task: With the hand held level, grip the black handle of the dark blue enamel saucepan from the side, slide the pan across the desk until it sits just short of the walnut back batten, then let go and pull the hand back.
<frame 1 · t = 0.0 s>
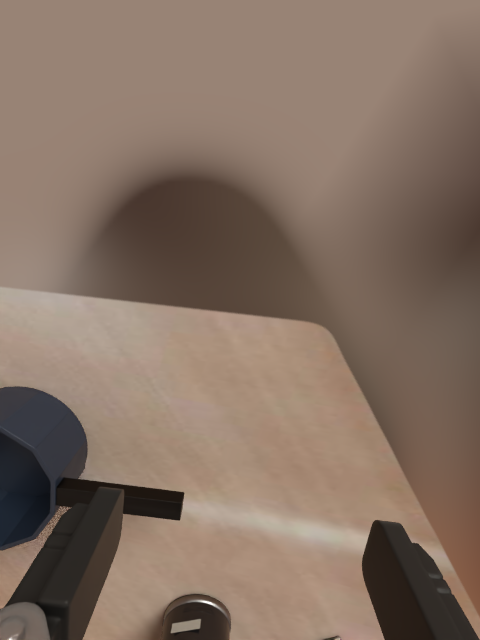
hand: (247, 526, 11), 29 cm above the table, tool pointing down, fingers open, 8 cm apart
pan: (26, 442, 44), on the table
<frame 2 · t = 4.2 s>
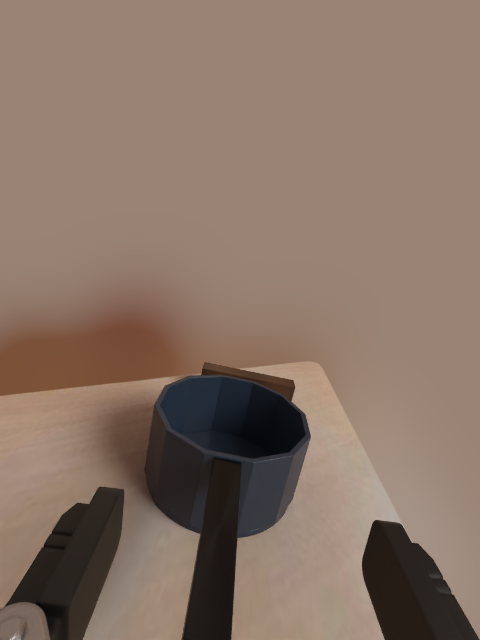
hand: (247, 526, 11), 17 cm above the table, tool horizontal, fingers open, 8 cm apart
back batten: (243, 397, 55), on the table
pan: (219, 476, 38), on the table
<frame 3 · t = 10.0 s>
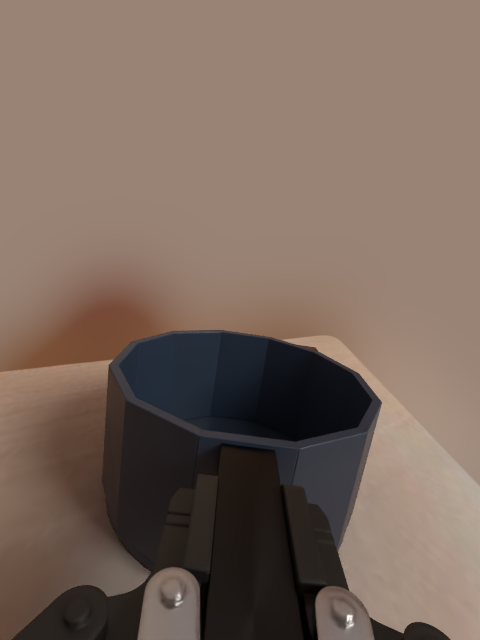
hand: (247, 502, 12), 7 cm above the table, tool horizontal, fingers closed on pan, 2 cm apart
pan: (228, 482, 23), on the table, touching gripper
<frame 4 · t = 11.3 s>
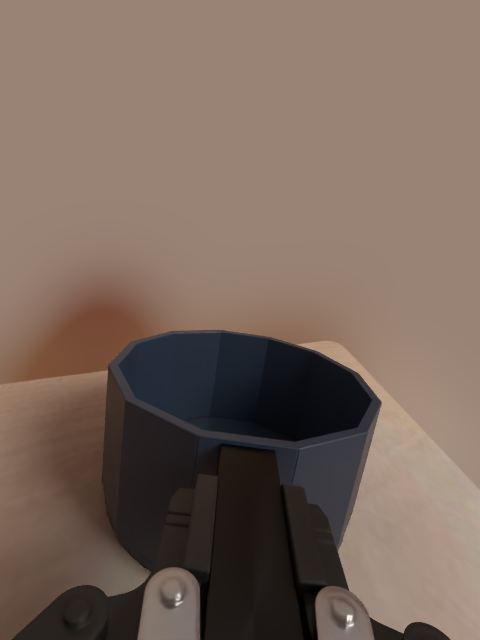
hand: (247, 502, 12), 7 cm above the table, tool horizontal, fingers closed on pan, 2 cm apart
pan: (228, 482, 23), on the table, touching gripper
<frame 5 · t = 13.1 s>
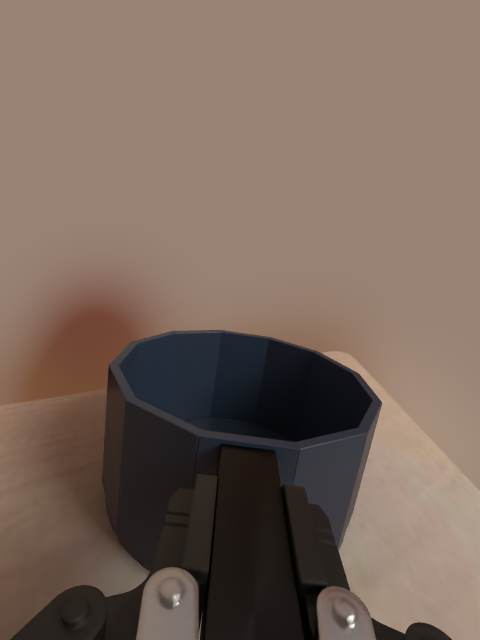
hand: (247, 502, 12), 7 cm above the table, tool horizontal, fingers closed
pan: (228, 483, 23), on the table
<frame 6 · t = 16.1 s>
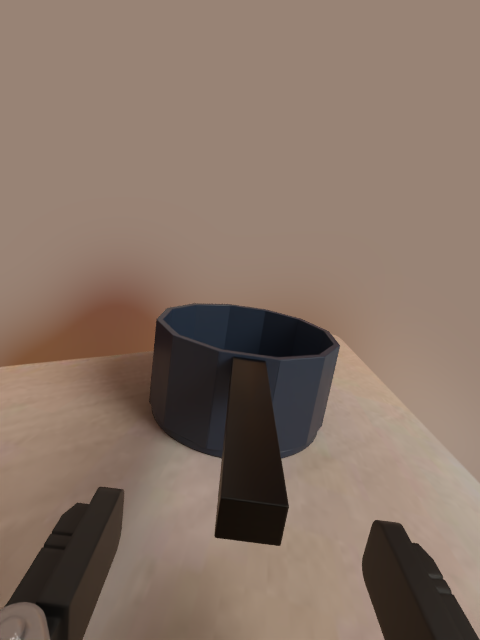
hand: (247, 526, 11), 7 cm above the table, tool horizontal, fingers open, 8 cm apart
pan: (235, 408, 33), on the table
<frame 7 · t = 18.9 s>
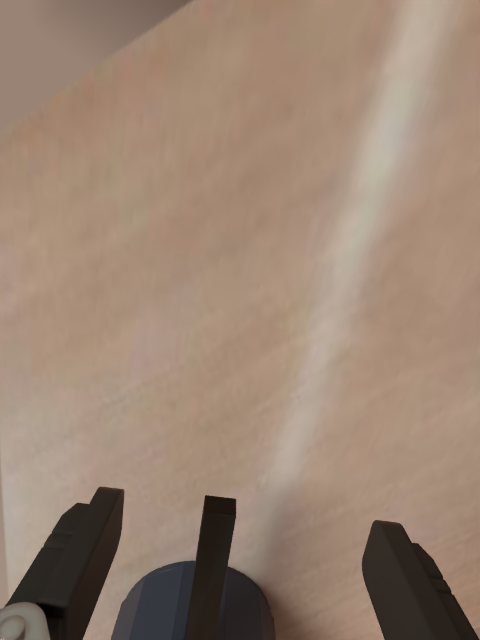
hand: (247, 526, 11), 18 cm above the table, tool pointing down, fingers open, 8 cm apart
pan: (196, 619, 36), on the table
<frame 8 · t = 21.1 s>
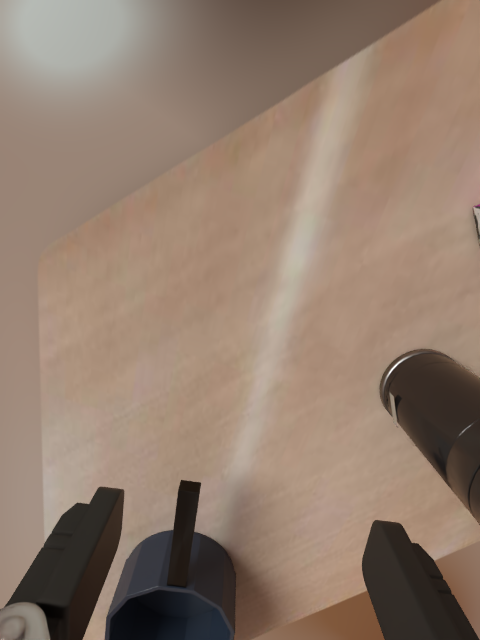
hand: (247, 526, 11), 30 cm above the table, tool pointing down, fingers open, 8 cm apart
pan: (180, 574, 50), on the table
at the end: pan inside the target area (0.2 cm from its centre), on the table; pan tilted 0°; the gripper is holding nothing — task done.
